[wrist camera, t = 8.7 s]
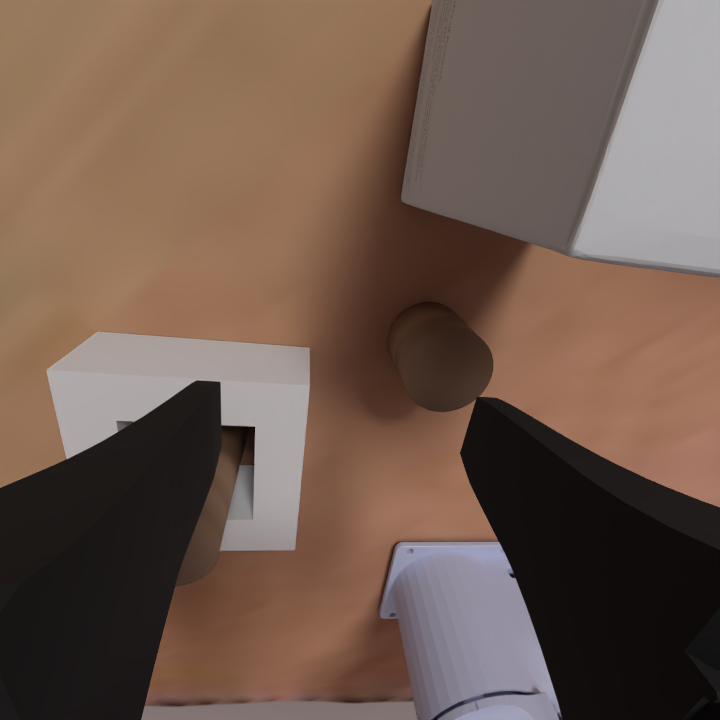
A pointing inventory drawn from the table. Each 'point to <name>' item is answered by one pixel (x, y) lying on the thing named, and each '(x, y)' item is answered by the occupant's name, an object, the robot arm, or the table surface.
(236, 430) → the brown rounded cylinder
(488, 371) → the short pin
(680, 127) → the supplement box
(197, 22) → the table surface
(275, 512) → the hole block
